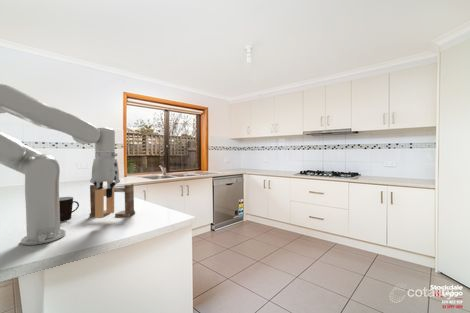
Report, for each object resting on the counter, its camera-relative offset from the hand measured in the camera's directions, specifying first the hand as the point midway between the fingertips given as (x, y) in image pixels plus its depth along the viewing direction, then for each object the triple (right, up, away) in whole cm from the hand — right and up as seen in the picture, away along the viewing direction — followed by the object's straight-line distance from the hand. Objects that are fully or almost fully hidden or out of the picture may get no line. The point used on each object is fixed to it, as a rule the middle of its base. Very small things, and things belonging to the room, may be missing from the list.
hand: (105, 196), depth 98 cm
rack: (-4, -12, +14) cm, 18 cm away
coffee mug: (-23, -12, +6) cm, 27 cm away
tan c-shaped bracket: (0, -8, 0) cm, 8 cm away
